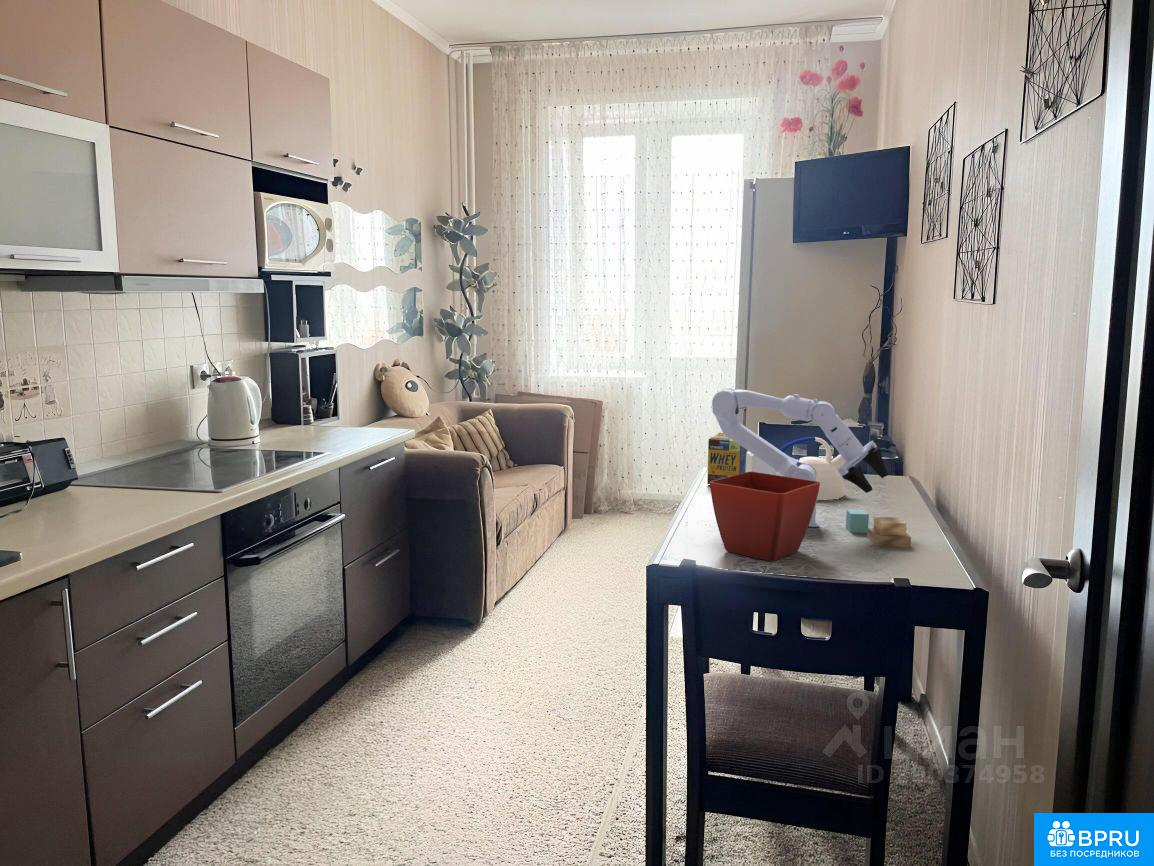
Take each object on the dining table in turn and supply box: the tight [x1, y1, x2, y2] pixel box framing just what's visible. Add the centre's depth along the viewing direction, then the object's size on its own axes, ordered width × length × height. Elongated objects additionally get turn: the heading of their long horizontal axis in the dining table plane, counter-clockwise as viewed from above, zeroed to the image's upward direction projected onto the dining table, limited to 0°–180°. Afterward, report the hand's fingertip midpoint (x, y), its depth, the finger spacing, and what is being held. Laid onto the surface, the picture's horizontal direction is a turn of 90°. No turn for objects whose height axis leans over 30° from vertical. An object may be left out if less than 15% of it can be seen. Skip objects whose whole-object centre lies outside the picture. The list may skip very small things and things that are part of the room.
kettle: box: [778, 436, 846, 500], centre depth 263 cm, size 20×21×18 cm
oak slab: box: [872, 516, 907, 536], centre depth 208 cm, size 6×6×3 cm
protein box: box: [706, 432, 748, 485], centre depth 280 cm, size 10×15×16 cm
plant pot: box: [709, 472, 820, 562], centre depth 199 cm, size 19×19×17 cm
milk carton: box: [746, 451, 777, 475], centre depth 248 cm, size 7×7×19 cm
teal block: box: [845, 509, 870, 534], centre depth 219 cm, size 4×4×5 cm
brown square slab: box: [867, 527, 912, 548], centre depth 208 cm, size 8×8×3 cm
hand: (877, 483), depth 219 cm, fingers open, 7 cm apart
